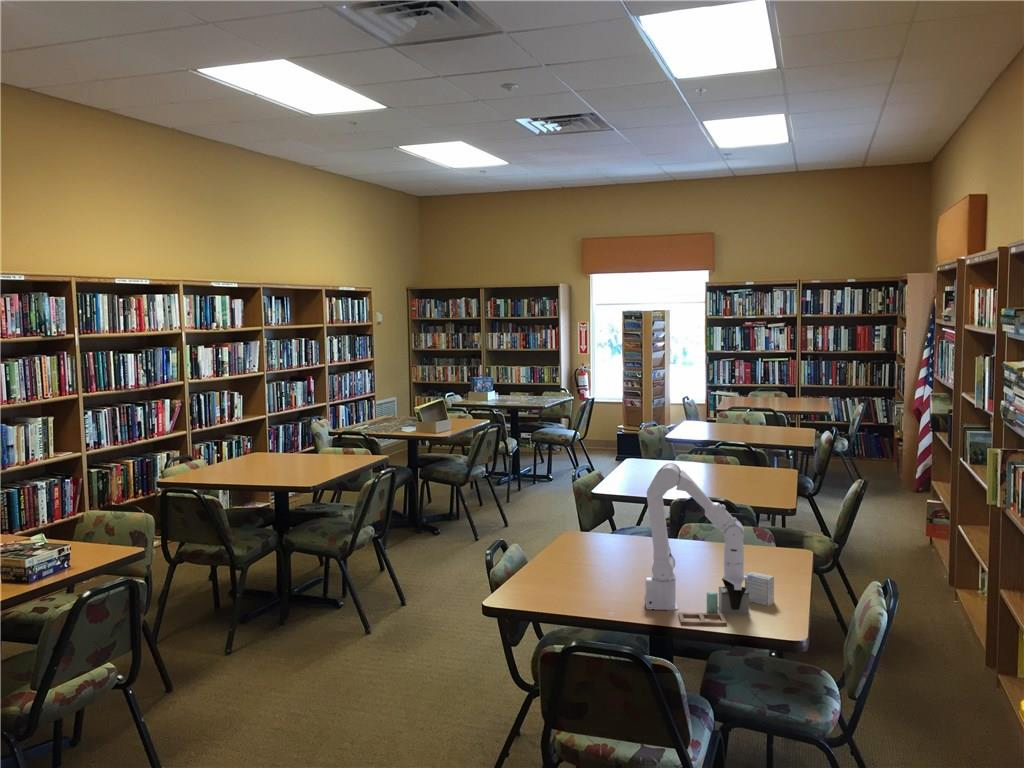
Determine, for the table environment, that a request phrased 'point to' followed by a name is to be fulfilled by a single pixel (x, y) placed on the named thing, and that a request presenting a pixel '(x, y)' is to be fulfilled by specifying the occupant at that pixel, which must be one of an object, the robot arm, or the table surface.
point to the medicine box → (760, 588)
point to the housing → (726, 605)
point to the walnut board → (702, 619)
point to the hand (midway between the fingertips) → (733, 605)
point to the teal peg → (712, 602)
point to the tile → (735, 614)
